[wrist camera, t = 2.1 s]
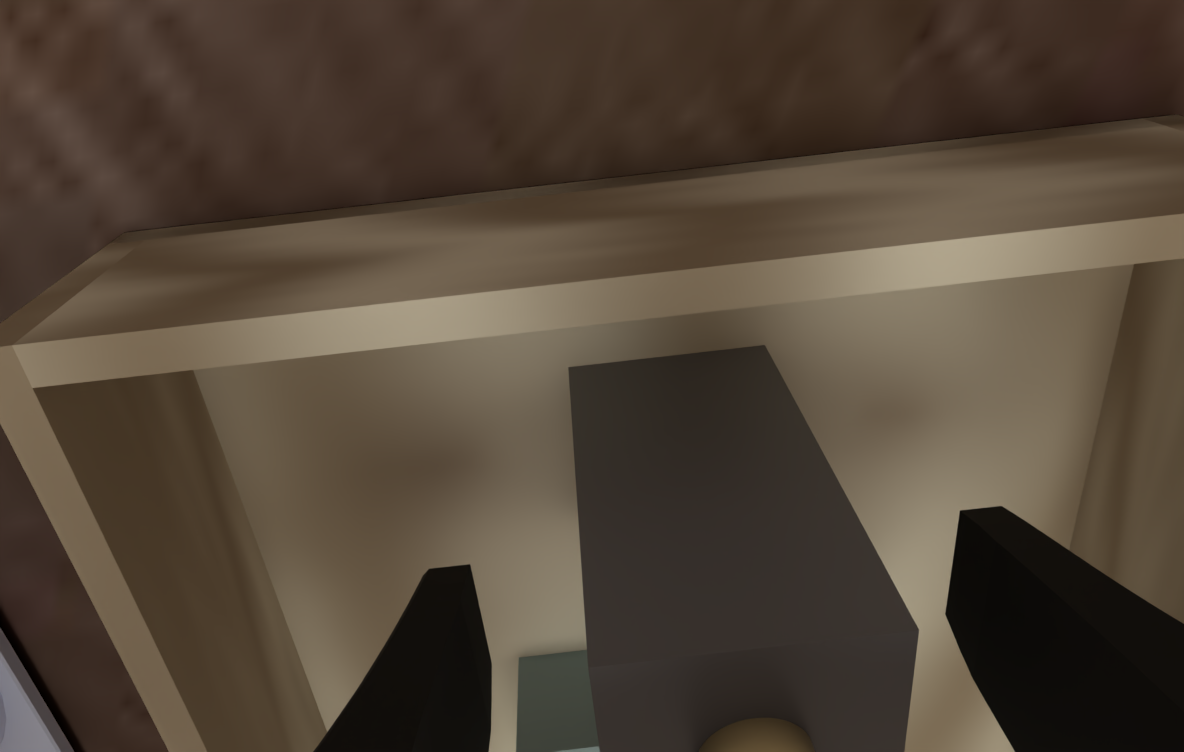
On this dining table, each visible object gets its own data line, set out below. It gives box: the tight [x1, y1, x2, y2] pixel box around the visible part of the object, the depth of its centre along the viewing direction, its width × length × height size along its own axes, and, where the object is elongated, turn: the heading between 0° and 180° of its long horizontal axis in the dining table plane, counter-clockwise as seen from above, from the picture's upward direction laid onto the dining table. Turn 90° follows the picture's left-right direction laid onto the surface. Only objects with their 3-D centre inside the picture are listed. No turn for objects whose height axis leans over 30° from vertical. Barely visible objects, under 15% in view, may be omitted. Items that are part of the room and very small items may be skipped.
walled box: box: [0, 115, 1184, 752], centre depth 17 cm, size 18×20×4 cm
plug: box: [568, 345, 919, 752], centre depth 12 cm, size 4×4×8 cm
